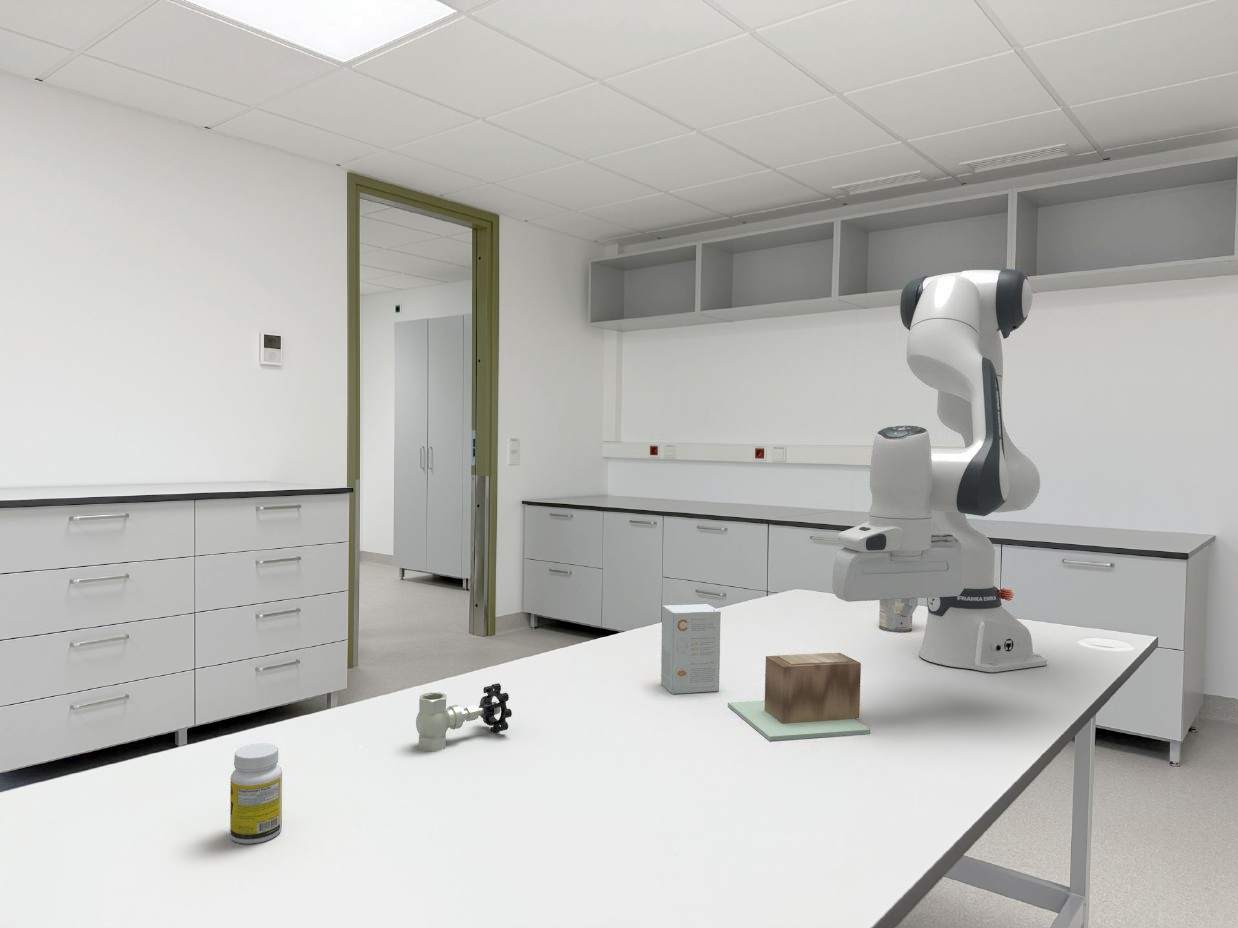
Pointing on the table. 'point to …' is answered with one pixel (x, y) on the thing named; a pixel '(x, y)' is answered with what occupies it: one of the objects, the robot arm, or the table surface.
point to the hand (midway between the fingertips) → (898, 627)
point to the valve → (457, 716)
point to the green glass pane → (793, 724)
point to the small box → (690, 648)
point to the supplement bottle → (256, 794)
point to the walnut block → (812, 687)
